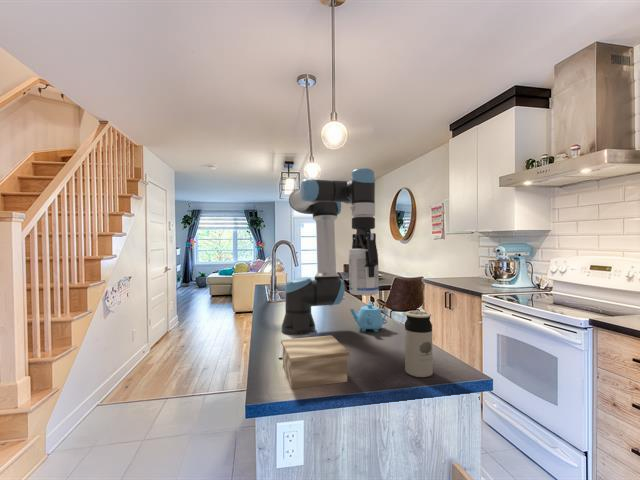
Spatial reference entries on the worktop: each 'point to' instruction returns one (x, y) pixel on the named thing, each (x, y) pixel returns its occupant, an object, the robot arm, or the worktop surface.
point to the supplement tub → (360, 274)
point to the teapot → (369, 317)
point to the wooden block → (314, 361)
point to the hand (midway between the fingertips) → (363, 285)
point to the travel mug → (418, 344)
